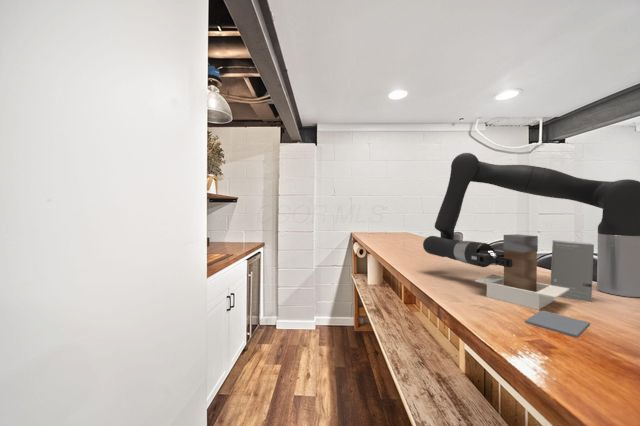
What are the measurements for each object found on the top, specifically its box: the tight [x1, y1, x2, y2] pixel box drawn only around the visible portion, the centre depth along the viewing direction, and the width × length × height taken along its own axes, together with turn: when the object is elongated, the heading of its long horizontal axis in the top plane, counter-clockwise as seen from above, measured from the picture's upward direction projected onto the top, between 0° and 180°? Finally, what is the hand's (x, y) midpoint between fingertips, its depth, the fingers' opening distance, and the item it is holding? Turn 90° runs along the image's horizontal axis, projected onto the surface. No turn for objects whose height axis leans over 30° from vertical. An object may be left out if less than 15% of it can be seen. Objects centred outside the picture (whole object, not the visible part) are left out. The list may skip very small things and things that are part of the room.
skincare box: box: [549, 239, 595, 303], centre depth 73 cm, size 8×7×16 cm
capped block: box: [503, 233, 539, 292], centre depth 70 cm, size 5×5×17 cm
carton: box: [474, 274, 570, 311], centre depth 70 cm, size 11×17×4 cm, turn 35°
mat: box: [524, 309, 590, 339], centre depth 55 cm, size 10×8×1 cm
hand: (523, 262), depth 69 cm, fingers open, 8 cm apart
